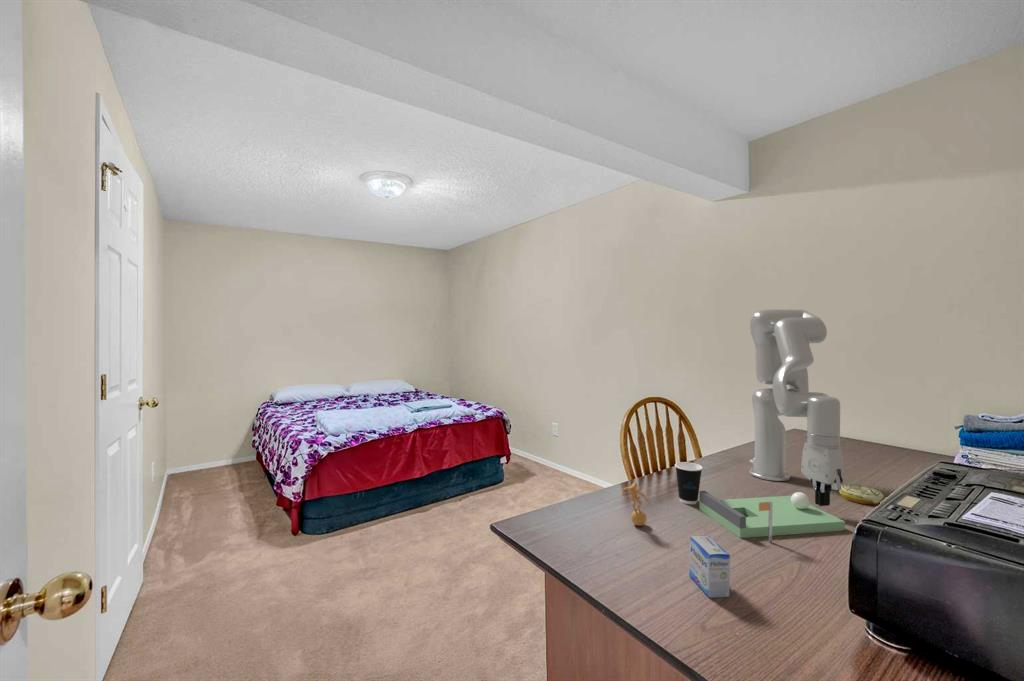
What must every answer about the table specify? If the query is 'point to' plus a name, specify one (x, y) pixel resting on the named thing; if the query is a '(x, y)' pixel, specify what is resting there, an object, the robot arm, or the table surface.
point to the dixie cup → (688, 481)
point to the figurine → (638, 515)
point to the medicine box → (709, 566)
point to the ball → (800, 500)
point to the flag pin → (765, 507)
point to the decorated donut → (861, 494)
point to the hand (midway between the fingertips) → (822, 504)
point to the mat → (767, 516)
